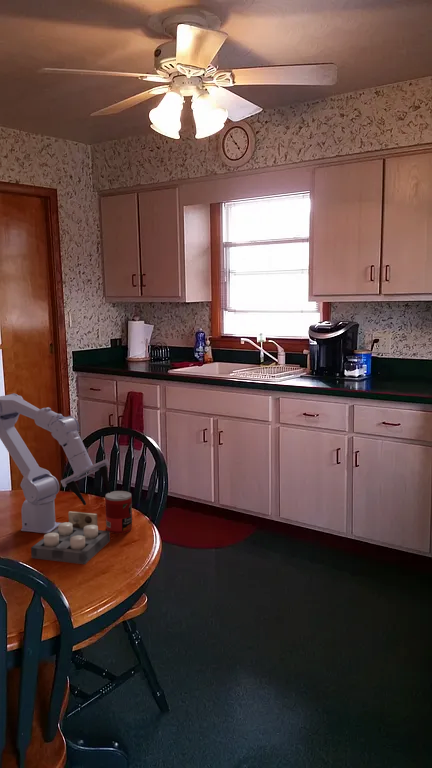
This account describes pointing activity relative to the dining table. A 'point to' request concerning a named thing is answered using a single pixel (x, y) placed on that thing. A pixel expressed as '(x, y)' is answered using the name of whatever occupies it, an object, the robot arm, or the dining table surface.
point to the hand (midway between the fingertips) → (97, 498)
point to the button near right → (77, 542)
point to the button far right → (91, 531)
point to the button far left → (65, 529)
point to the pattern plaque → (82, 519)
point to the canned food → (118, 512)
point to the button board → (65, 551)
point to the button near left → (51, 539)
